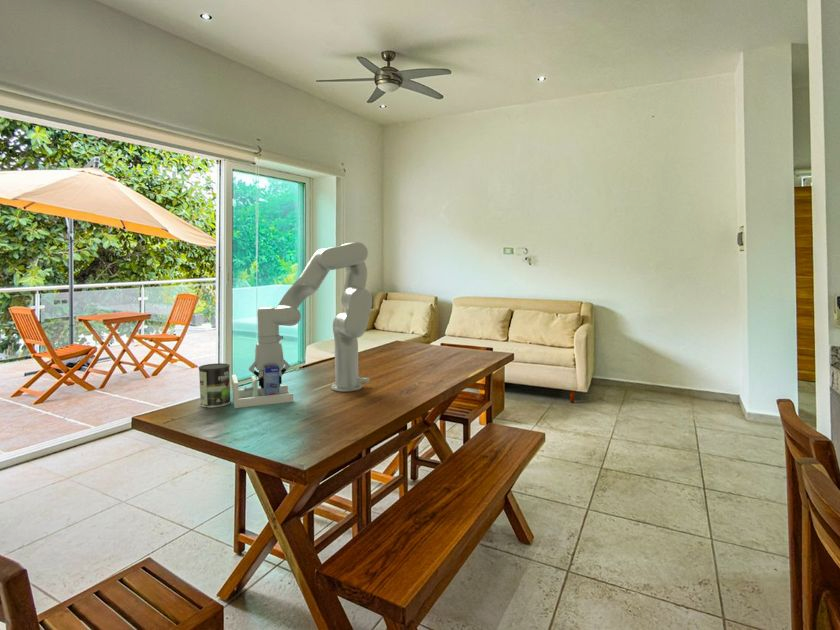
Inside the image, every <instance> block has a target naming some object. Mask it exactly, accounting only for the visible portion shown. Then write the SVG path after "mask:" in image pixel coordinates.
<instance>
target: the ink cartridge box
mask: <svg viewBox="0 0 840 630" xmlns="http://www.w3.org/2000/svg"><path fill="white" fill-rule="evenodd" d="M262 377H263V388H262V389H261V394H262V396H268V395H277V394H279V366H264V371H263V374H262Z"/></svg>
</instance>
